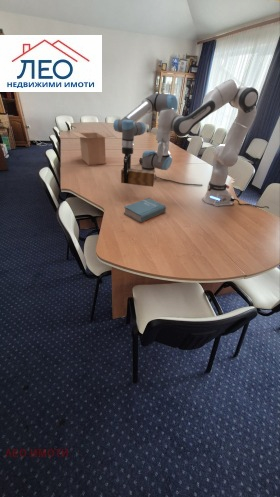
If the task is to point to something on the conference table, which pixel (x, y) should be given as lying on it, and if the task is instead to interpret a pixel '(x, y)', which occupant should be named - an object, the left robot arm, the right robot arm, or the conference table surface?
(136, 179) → the bar
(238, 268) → the conference table surface
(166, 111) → the right robot arm
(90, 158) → the box
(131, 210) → the book
